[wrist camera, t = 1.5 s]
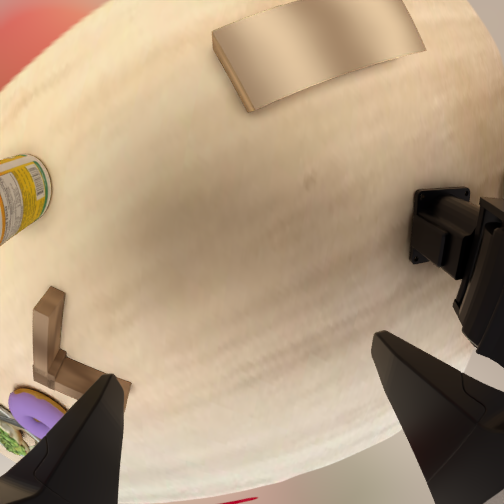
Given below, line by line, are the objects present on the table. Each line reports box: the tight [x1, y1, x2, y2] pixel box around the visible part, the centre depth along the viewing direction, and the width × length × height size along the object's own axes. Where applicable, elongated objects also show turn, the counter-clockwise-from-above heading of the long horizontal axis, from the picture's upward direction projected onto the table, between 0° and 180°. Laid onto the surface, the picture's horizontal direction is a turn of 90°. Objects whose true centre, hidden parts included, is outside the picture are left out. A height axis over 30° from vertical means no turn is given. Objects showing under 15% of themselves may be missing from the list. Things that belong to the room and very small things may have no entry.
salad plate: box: [0, 406, 41, 457], centre depth 28 cm, size 19×18×5 cm
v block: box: [33, 287, 131, 412], centre depth 23 cm, size 8×13×4 cm, turn 19°
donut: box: [8, 388, 66, 439], centre depth 26 cm, size 10×9×5 cm
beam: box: [212, 0, 427, 113], centre depth 14 cm, size 12×5×4 cm, turn 117°
